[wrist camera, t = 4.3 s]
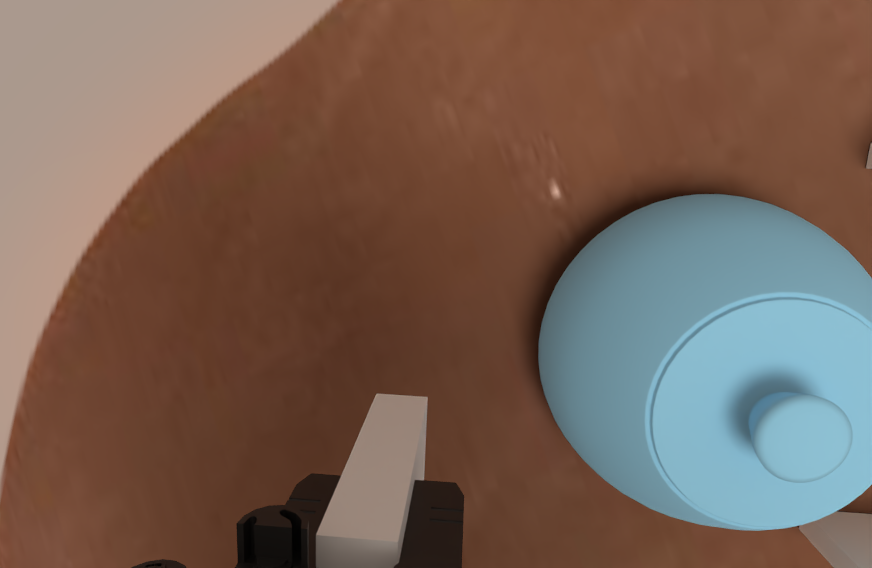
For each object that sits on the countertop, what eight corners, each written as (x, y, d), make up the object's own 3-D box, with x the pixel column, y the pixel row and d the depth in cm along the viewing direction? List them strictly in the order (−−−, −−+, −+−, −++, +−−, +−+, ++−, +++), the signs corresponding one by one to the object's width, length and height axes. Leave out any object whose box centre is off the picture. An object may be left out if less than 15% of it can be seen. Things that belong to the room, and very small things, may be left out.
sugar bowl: (681, 128, 28) (823, 99, 17) (897, 327, 29) (1166, 428, 18) (475, 350, 31) (477, 456, 19) (680, 524, 32) (793, 718, 21)
